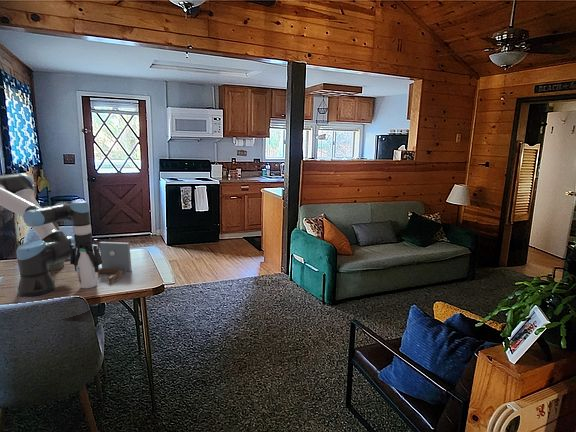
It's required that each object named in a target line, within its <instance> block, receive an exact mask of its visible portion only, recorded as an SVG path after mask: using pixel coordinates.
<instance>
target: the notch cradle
mask: <svg viewBox="0 0 576 432" xmlns="http://www.w3.org/2000/svg"><path fill="white" fill-rule="evenodd" d="M101 275H102V276H109V277H108V278H107V279H108V280H107V281H108V284H110V285H112V284H113V283H114V282H117V281H118V280H119V279H120V278H122V277H123V276H124V275H125V272H124V269H105V268H102V267H101V268H100V267H99V272H98V277H100V276H101Z"/></svg>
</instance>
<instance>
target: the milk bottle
mask: <svg viewBox="0 0 576 432" xmlns="http://www.w3.org/2000/svg"><path fill="white" fill-rule="evenodd" d="M79 251H80V257H79V260H78V275H79V278H78V281H79V283H78V284H79V288H81V289H92V288H94V287H96V286H98V278H96V279H94V278H93V269H92V267H93V266H94V265H93V263H92V261H91V259H90V257H89V256H88V254H87V253H86V252H85V251H86V250H85V249H84V248H80V249H79ZM89 252H90V251H89Z"/></svg>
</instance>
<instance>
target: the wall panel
mask: <svg viewBox="0 0 576 432" xmlns="http://www.w3.org/2000/svg"><path fill="white" fill-rule="evenodd" d="M98 243H99V244H98V245H99V252H100V256H101V260H102V264H101V268H105V269H124V271H126V272H125V273H127V272H128V273H131V272H132V270H133V269H132V257H131V247H130V246H131V245H130V242H121V241H120V242H119V241H118V242H116V241H115V242H114V241H112V242H111V241H100V242H98ZM130 271H131V272H130Z"/></svg>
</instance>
